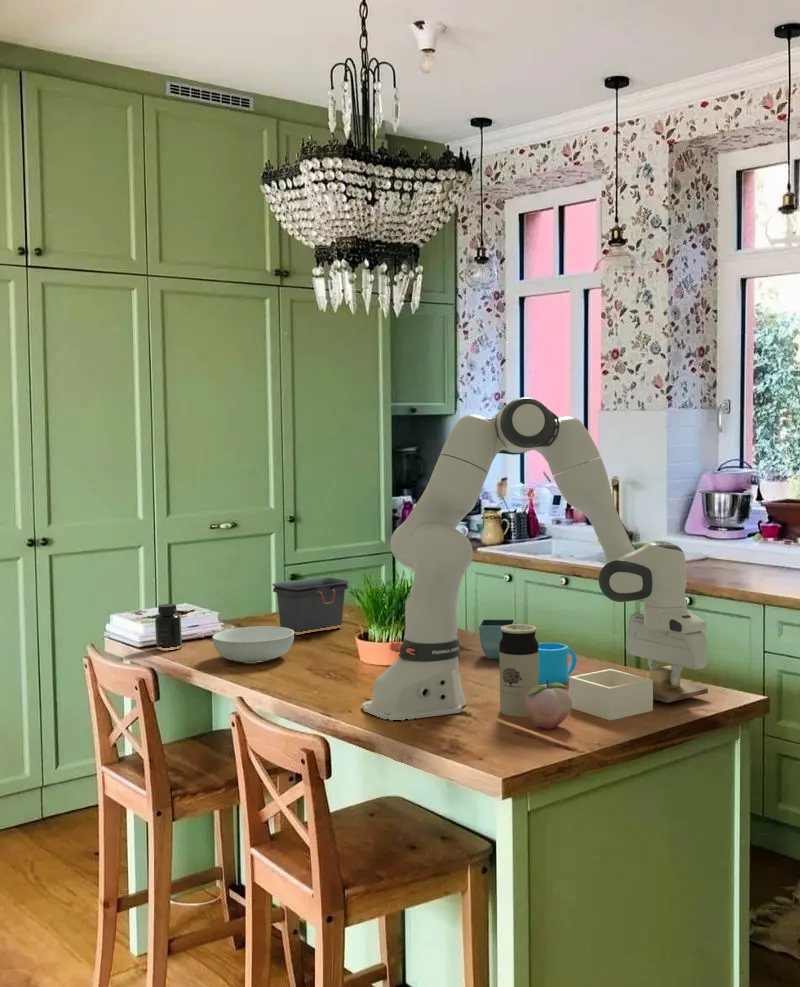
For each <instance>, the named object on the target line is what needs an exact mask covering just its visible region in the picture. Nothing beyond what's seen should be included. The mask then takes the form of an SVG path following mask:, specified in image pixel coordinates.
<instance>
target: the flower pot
mask: <svg viewBox="0 0 800 987" xmlns="http://www.w3.org/2000/svg"><path fill="white" fill-rule="evenodd" d="M516 621H517V620H516V619H504V618H503V619H491V618H490V619H488V618H487V619H481V620H480V623H479V625H478V632H479V633H478V634H479V640H480V646H481V648H482V649H481V650H482V651H483V653H484V656H485V657H486V658H487V659H491V660H494V659H495V660H496V659H498V660H500V659H499V643H500V641H501V639H502V637H503V636H502V631H501V630H500V628H501V627H502V626H505V625H513V624H516Z"/></svg>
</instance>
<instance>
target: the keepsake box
mask: <svg viewBox="0 0 800 987" xmlns="http://www.w3.org/2000/svg"><path fill="white" fill-rule="evenodd" d="M568 688H569V689H568V694H569V696H570V698H571V701H572V707H571V710H576V711H579V712H582V713H585V714H588V715H591V716H594V717H598V718H600V719H603V720H607V721H614V720H619V719H623V718H628V717H631V716H635V715H640V714H645V713H648V712H653V711H654V699H653V680H652V679H650V678H648V677H644V676H640V675H637V674H632V673H629V672H625V671H620V670H618V669H617V670H616V669H615V668H609V669H602V670H598V671H594V672H588V673H582V674H578V675H572V676H568Z"/></svg>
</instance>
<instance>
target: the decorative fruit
mask: <svg viewBox="0 0 800 987" xmlns="http://www.w3.org/2000/svg"><path fill="white" fill-rule="evenodd" d="M564 688H566V689H568V690H569V686H567V685H565V683H563V684H561V683H551V684H548V680H547V685H539V686H536V687H534V688H533V689H531V690H530V691H529V692H528V694H527V696H526V698H525V708H526V712H527V714H528V716H527V717H528V718H529V719H530V721H531V722H532V723H533V724H534V725H536V726H537V727H539V728H541V729H545V730H551V729H554V728H556V727H558V726H559V725H561V724H562V723H563V722H564V721H565V719H567V718H568V716H569V715H570V712H571V710H572V708H571V707H572V701H571V698H570V696H569V692H567V690H566V689H564Z"/></svg>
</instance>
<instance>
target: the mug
mask: <svg viewBox="0 0 800 987" xmlns="http://www.w3.org/2000/svg"><path fill="white" fill-rule="evenodd" d="M568 653H569V654H570V656H571V663H570V666H569V664H568V662H569V660H568V658H569V657H568ZM538 660H539V685H547V680H548V684H551V683H561V684H566V683H567V684H569V675H570V674H572V673H573V671H574V670H575V668H576V665H577V661H578V660H577V655H576V653H575V652H574V651H573V649H572V648H569V647H568V645H567V644H566V645H565V644H564V643H557V642H556V643H555V642H540V643H539V642H538Z"/></svg>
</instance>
